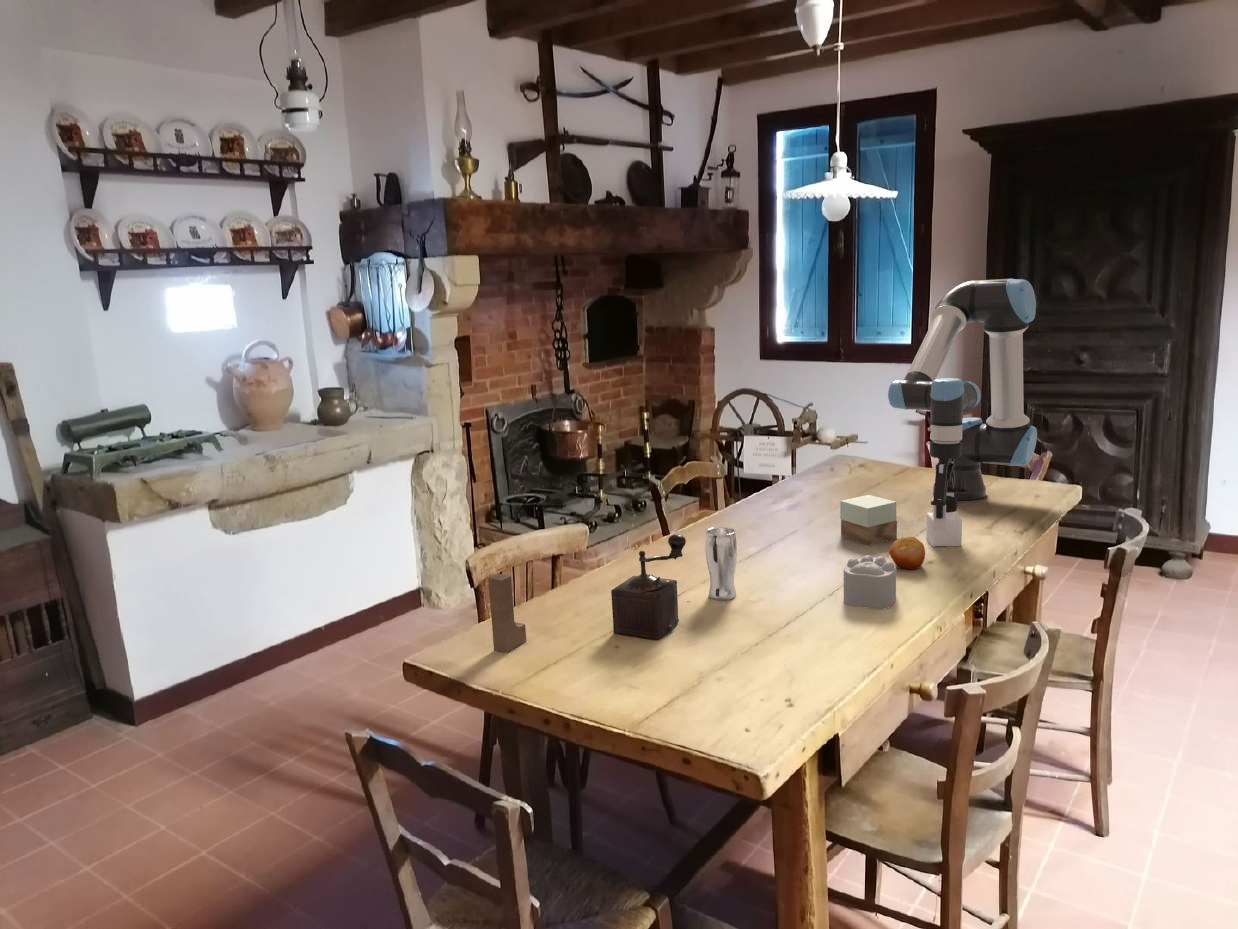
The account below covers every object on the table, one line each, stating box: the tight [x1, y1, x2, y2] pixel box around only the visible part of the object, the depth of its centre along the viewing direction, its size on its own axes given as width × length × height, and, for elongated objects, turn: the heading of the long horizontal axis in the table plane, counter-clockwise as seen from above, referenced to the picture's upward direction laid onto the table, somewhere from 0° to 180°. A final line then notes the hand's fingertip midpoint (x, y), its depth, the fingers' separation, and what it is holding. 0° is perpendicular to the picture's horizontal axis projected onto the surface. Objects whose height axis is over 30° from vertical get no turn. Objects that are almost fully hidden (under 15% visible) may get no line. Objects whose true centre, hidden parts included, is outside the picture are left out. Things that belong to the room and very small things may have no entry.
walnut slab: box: [840, 519, 898, 546], centre depth 241 cm, size 10×10×5 cm
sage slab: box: [839, 494, 897, 527], centre depth 240 cm, size 10×10×5 cm
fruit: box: [888, 536, 926, 570], centre depth 217 cm, size 8×8×8 cm
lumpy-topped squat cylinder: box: [843, 554, 897, 610], centre depth 198 cm, size 10×13×9 cm
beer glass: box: [704, 526, 738, 601], centre depth 203 cm, size 7×7×15 cm
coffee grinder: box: [610, 534, 687, 641], centre depth 188 cm, size 16×11×18 cm
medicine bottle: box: [925, 495, 963, 548], centre depth 232 cm, size 7×7×12 cm
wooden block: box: [487, 573, 527, 654], centre depth 181 cm, size 7×3×15 cm, turn 149°
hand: (943, 523), depth 232 cm, fingers open, 13 cm apart
